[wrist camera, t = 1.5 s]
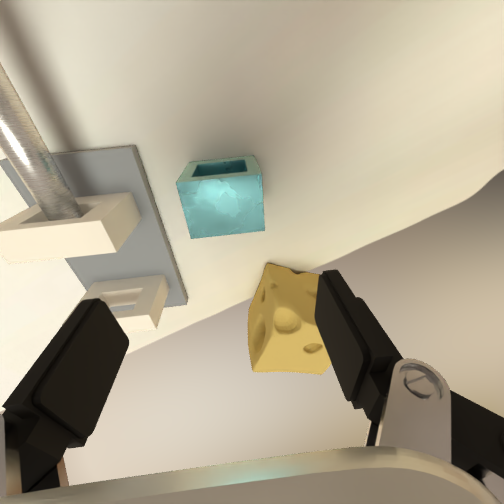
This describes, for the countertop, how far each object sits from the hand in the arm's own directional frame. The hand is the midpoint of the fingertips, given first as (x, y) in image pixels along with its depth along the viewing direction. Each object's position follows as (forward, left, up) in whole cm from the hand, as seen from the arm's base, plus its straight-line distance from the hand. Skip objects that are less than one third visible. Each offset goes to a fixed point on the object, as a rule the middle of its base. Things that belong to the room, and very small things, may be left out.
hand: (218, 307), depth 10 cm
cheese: (+18, +7, -18) cm, 26 cm away
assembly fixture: (+6, -14, -17) cm, 23 cm away
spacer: (0, 0, -18) cm, 18 cm away
